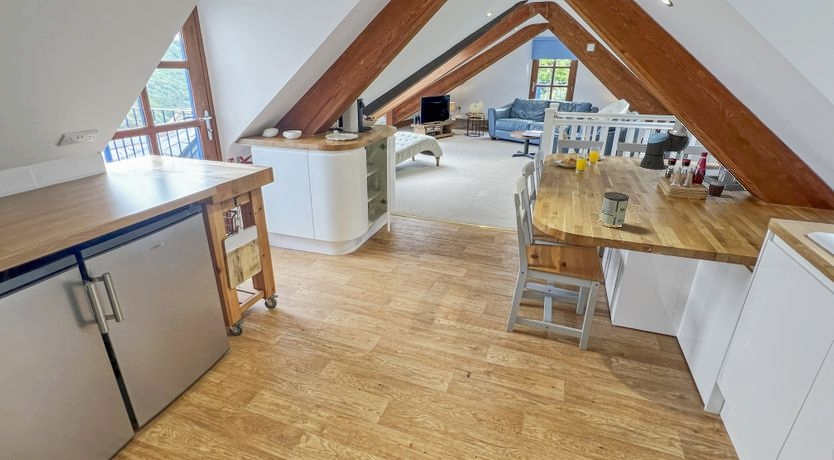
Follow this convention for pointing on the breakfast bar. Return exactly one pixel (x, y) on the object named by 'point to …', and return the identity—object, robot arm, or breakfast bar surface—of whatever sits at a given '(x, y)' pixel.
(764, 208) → the breakfast bar surface
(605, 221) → the coffee can
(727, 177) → the medicine box
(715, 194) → the mate gourd
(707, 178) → the sorting tray
